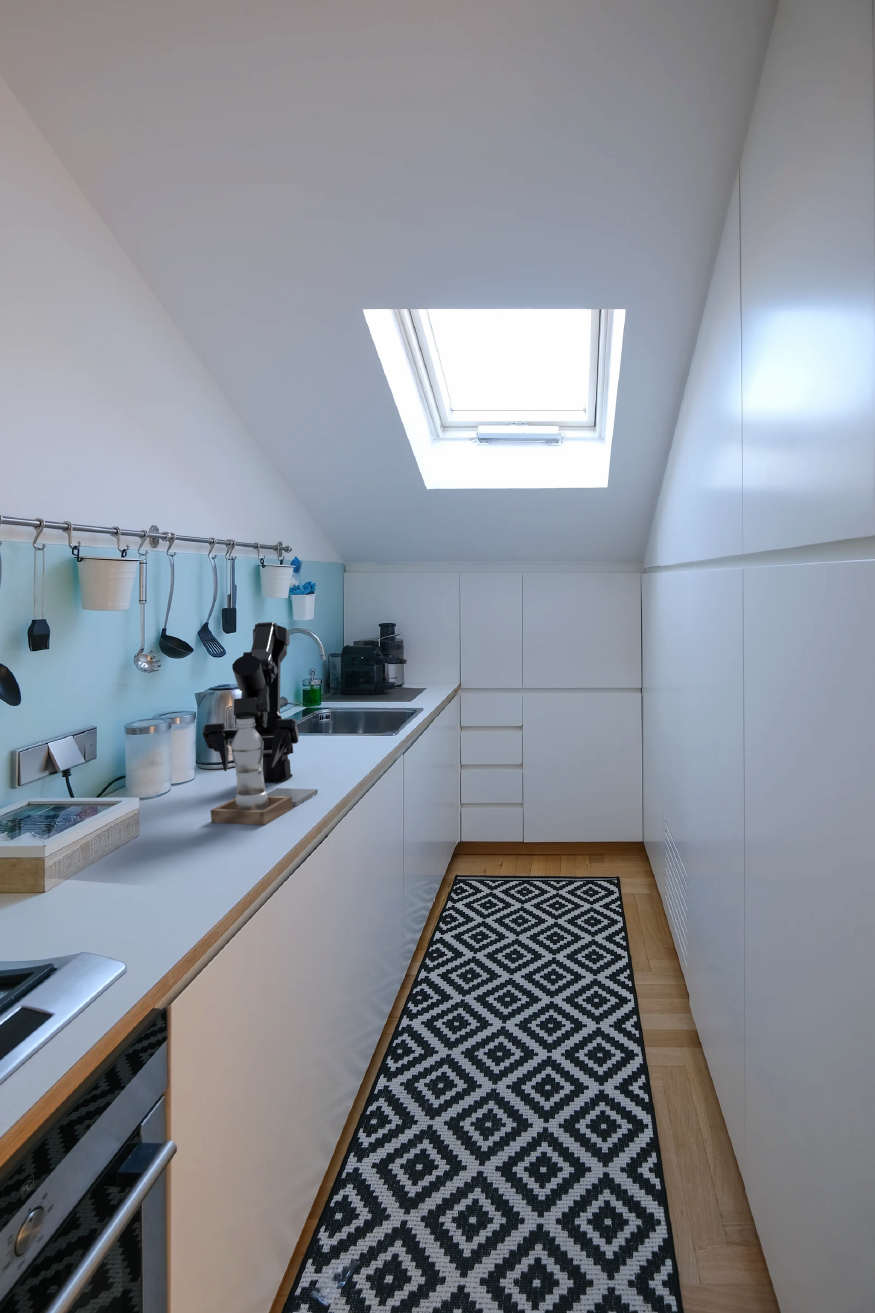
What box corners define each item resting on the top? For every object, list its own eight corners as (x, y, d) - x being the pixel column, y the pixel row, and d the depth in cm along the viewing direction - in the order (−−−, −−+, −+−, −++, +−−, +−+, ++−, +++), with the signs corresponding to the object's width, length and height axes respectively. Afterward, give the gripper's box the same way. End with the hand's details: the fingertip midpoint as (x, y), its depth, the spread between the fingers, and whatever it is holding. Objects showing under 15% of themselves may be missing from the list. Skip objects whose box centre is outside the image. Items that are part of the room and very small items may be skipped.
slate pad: (254, 805, 161) (253, 800, 160) (277, 792, 170) (277, 788, 170) (296, 806, 157) (295, 801, 157) (317, 793, 167) (317, 789, 167)
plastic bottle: (273, 810, 156) (266, 714, 154) (263, 820, 149) (255, 720, 147) (243, 811, 156) (235, 715, 155) (231, 821, 150) (223, 721, 148)
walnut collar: (211, 822, 149) (210, 810, 149) (242, 806, 160) (241, 795, 160) (265, 825, 146) (264, 812, 145) (292, 808, 156) (291, 796, 156)
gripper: (200, 685, 154) (191, 749, 144) (292, 679, 155) (289, 742, 145) (212, 717, 163) (204, 779, 153) (299, 711, 164) (297, 773, 154)
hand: (248, 768), depth 151 cm, fingers open, 9 cm apart
